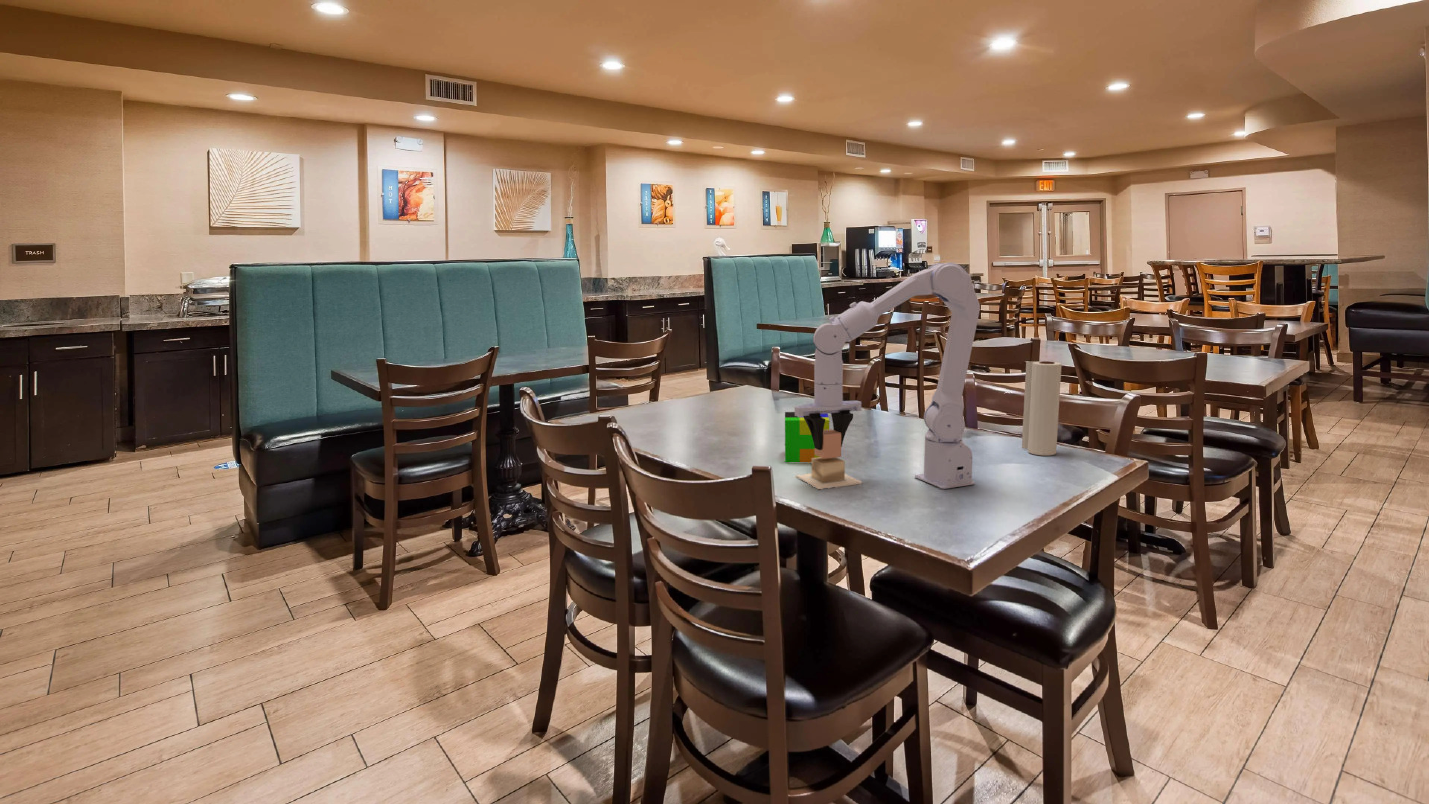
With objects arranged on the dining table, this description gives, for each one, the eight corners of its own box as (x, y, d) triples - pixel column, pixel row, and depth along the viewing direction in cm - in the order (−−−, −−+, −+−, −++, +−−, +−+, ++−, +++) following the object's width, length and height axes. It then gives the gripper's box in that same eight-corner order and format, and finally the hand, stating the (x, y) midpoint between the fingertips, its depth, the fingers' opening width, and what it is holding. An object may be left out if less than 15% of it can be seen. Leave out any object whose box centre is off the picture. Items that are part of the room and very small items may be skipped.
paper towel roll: (1060, 456, 168) (1066, 363, 164) (1034, 456, 168) (1039, 364, 164) (1047, 448, 175) (1052, 359, 171) (1021, 449, 175) (1026, 360, 171)
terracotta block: (841, 456, 151) (841, 432, 150) (824, 458, 149) (824, 434, 148) (831, 452, 154) (831, 429, 154) (814, 454, 153) (814, 431, 152)
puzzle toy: (826, 452, 176) (827, 411, 175) (829, 463, 167) (829, 420, 165) (785, 452, 177) (784, 411, 176) (785, 463, 168) (784, 420, 166)
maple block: (844, 479, 151) (844, 461, 151) (823, 482, 150) (823, 463, 149) (832, 473, 156) (832, 455, 155) (811, 476, 154) (811, 458, 153)
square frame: (861, 483, 150) (861, 481, 150) (818, 489, 146) (818, 487, 146) (836, 471, 159) (836, 469, 159) (795, 477, 156) (795, 475, 155)
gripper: (849, 377, 155) (848, 440, 158) (787, 382, 150) (788, 447, 153) (867, 382, 149) (866, 447, 151) (803, 387, 144) (803, 454, 146)
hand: (828, 447), depth 151 cm, fingers closed on terracotta block, 4 cm apart
